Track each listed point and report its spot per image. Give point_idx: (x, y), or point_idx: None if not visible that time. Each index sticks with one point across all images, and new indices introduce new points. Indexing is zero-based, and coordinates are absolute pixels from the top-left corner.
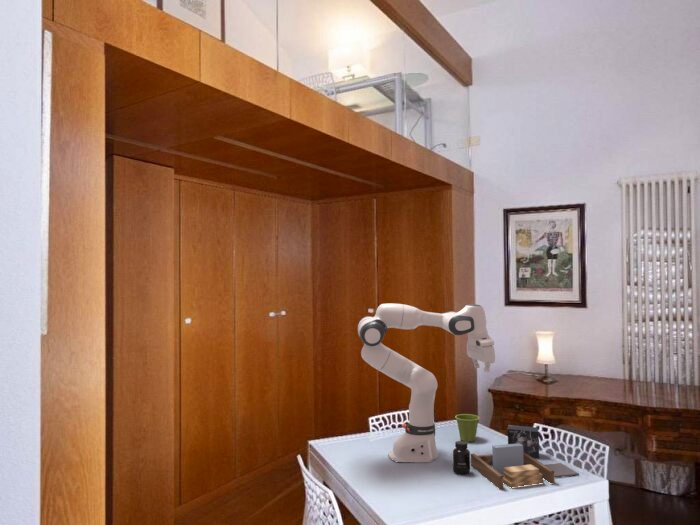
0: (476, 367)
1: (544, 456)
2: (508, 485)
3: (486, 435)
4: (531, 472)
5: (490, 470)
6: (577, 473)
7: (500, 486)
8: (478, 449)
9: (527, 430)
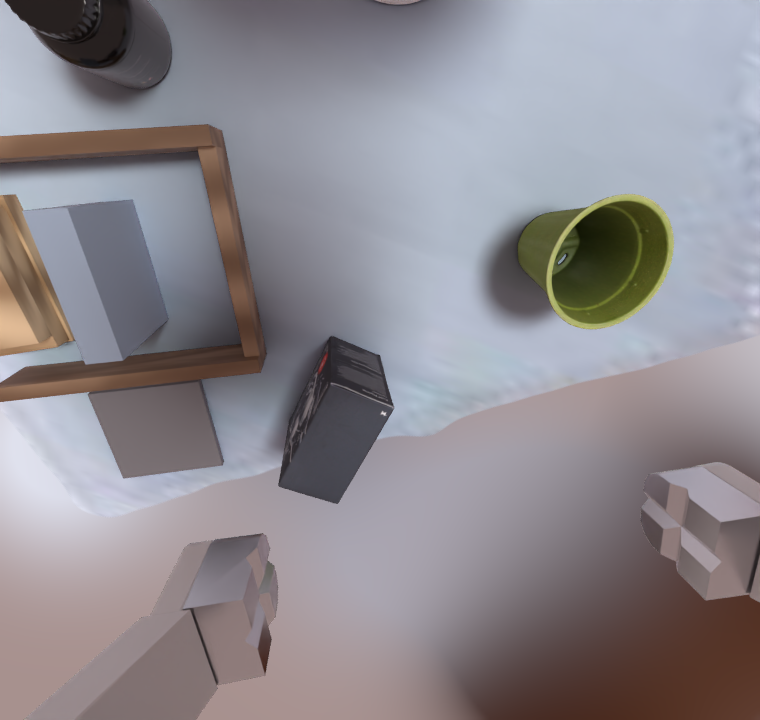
0: (659, 485)
1: None
2: None
3: (571, 340)
4: None
5: None
6: (122, 474)
7: None
8: (423, 247)
9: (298, 454)
